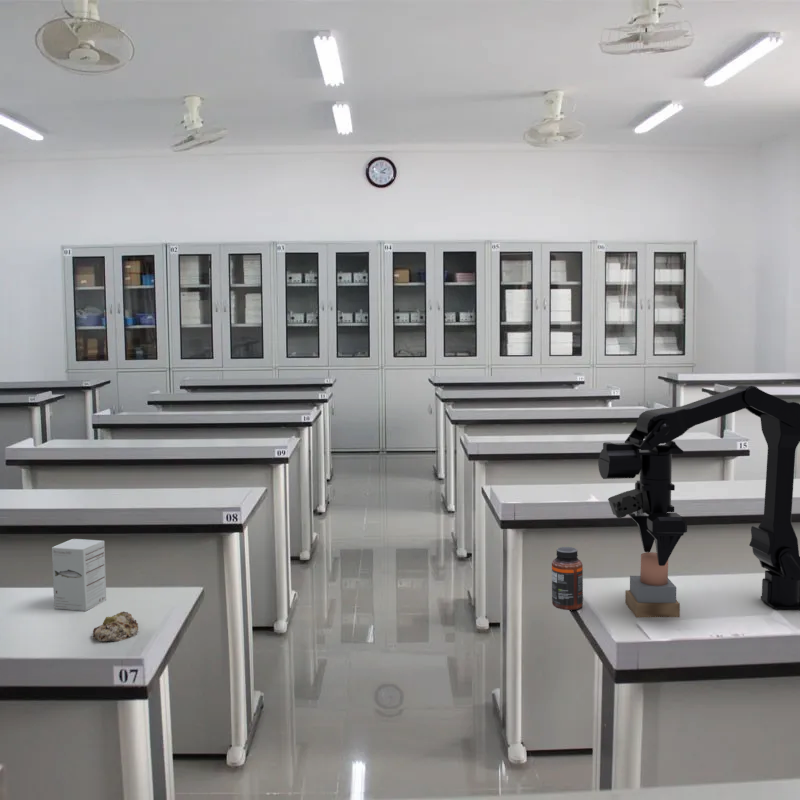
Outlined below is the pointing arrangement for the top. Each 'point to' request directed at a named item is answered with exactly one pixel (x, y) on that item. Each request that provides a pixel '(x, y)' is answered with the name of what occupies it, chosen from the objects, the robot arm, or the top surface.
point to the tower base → (651, 607)
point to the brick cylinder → (653, 570)
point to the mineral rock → (116, 628)
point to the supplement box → (79, 574)
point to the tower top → (652, 591)
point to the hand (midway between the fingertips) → (654, 558)
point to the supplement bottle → (567, 579)
